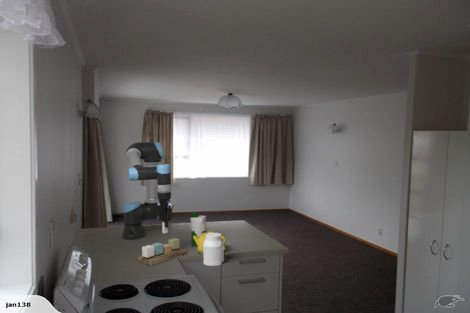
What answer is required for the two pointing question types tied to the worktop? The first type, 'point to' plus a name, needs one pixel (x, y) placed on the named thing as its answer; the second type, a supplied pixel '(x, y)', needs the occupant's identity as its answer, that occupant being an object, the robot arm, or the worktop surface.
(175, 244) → the key olive
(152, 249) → the key cream
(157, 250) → the key teal
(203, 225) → the milk carton
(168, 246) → the key terracotta
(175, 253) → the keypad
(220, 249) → the jar
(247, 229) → the worktop surface
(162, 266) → the worktop surface
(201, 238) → the teapot
